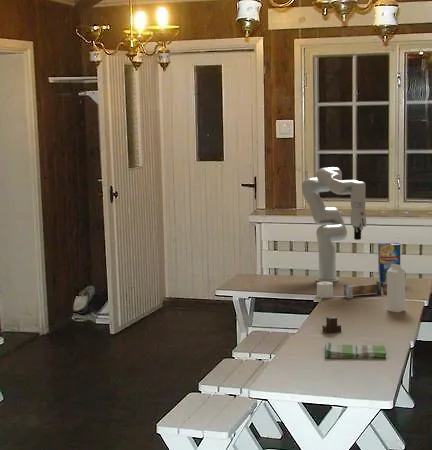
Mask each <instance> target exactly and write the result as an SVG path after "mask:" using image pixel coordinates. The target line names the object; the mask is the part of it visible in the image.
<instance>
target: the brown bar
mask: <svg viewBox="0 0 432 450" xmlns="http://www.w3.org/2000/svg"><path fill="white" fill-rule="evenodd" d="M346 286H349V285H348V284H343V296H345V297H346ZM351 286H352V287H353V296H358V295H371V294H376V293H377V285H376V283H368V284H366V283H365V284H355V285H351Z"/></svg>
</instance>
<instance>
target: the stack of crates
mask: <svg viewBox="0 0 432 450" xmlns="http://www.w3.org/2000/svg"><path fill="white" fill-rule="evenodd" d="M325 322H326V323H325V325H323V324H322V325H321V326H322V333H324V334H325V335H326V334H336V333H342V325H341V324H339V323H338V318H337V317H336V316H326V321H325Z"/></svg>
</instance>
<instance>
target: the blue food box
mask: <svg viewBox="0 0 432 450" xmlns="http://www.w3.org/2000/svg"><path fill="white" fill-rule="evenodd" d="M377 244H378V252H377V253H378V255H377V256H378V259H377V260H378V261H377V262H378V263H377V264H378V269H377V270H378V281H381V286H383V283H387V270H388V269H389V268H390V267H391V264H397V265H401V244H400V243H399V242H386V243H385V242H384V243H382V242H379V243H377Z"/></svg>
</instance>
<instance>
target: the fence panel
mask: <svg viewBox="0 0 432 450" xmlns="http://www.w3.org/2000/svg"><path fill="white" fill-rule="evenodd" d="M382 286H383V287H382V293H383V294H384V295H387V283H383V285H382Z"/></svg>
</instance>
